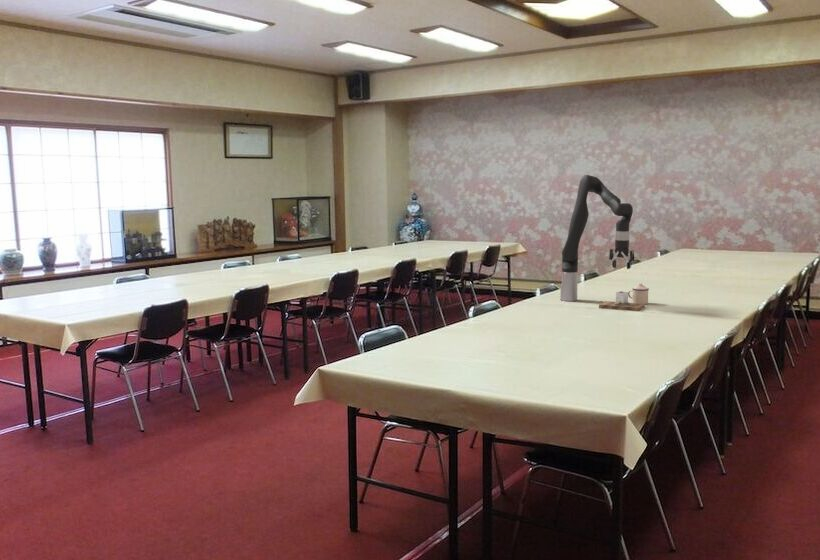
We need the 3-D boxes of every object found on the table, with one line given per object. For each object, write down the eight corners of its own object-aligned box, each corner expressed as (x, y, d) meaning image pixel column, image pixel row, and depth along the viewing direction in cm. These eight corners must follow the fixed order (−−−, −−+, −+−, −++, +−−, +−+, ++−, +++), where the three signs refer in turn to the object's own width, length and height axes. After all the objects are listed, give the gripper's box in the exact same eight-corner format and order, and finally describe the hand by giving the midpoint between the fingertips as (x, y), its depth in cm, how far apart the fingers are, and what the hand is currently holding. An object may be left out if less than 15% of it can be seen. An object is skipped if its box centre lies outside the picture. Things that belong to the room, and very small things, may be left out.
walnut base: (598, 308, 415) (598, 303, 415) (605, 304, 426) (605, 299, 426) (638, 311, 404) (638, 306, 403) (644, 307, 415) (644, 302, 414)
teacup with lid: (650, 303, 429) (651, 283, 427) (644, 305, 422) (645, 285, 420) (630, 301, 436) (631, 281, 434) (624, 303, 429) (625, 283, 427)
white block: (622, 301, 419) (622, 290, 418) (629, 302, 416) (629, 291, 415) (614, 303, 413) (614, 292, 412) (621, 303, 410) (621, 292, 409)
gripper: (637, 239, 408) (636, 268, 410) (614, 238, 418) (613, 266, 420) (630, 240, 403) (629, 269, 405) (607, 239, 413) (606, 267, 415)
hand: (621, 268), depth 413 cm, fingers open, 8 cm apart
